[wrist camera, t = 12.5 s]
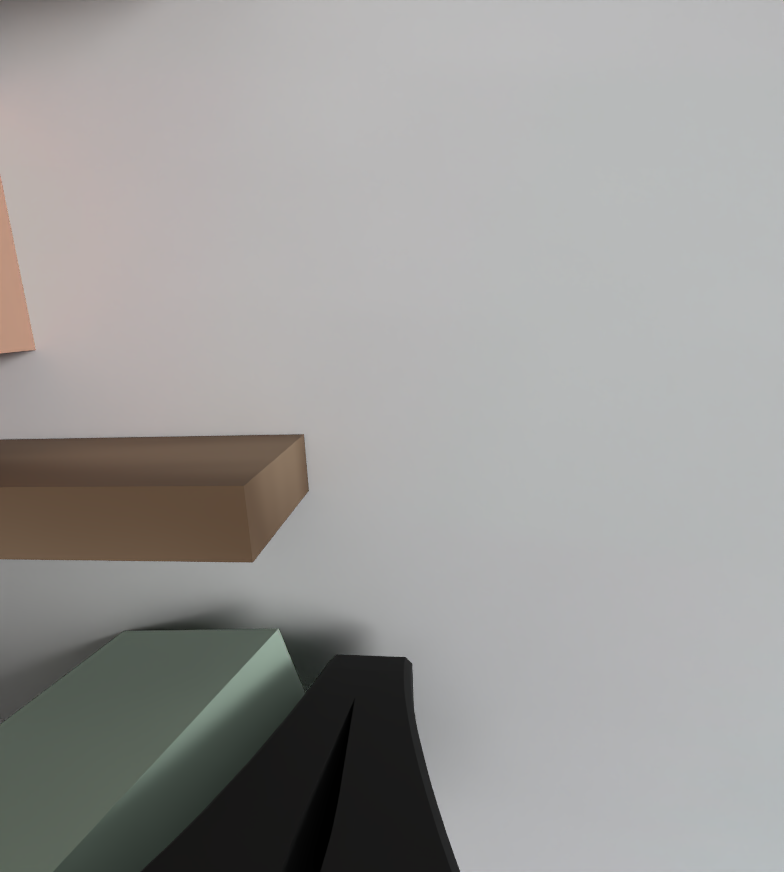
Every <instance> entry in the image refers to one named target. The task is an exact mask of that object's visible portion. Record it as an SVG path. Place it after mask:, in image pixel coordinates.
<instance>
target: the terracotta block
mask: <svg viewBox="0 0 784 872" xmlns="http://www.w3.org/2000/svg"><path fill="white" fill-rule="evenodd" d="M29 350H36V349H35V344H34V339H33V334H32V329H31V325H30V320H29V315H28V310H27V305H26V300H25V295H24V290H23V285H22V280H21V275H20V270H19V265H18V260H17V255H16V250H15V245H14V241H13V236H12V231H11V226H10V221H9V216H8V211H7V206H6V201H5V196H4V191H3V186H2V181H1V176H0V353H9V352H19V351H29Z"/></svg>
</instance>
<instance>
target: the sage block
mask: <svg viewBox="0 0 784 872" xmlns="http://www.w3.org/2000/svg"><path fill="white" fill-rule="evenodd" d="M304 694H305V691H304V689H303V687H302V684H301V682H300V679H299V677H298V674H297V672H296V670H295V667H294V665H293V662H292V660H291V658H290V655H289V653H288V650H287V648H286V645H285V643H284V641H283V638H282V636H281V633H280V631H279V629H222V630H155V631H123V632H122V633H121V634H119V635H118V636H117V637H116V638H114V639H113V640H112V641H110V642H109V643H108V644H106V645H105V646H104V647H102V648H101V649H100V650H98V651H97V652H96V653H94V654H93V655H92V656H90V657H89V658H88V659H86V660H85V661H84V662H82V663H81V664H80V665H78V666H77V667H76V668H74V669H73V670H72V671H70V672H69V673H68V674H66V675H65V676H64V677H62V678H61V679H60V680H58V681H57V682H56V683H55V684H53V685H52V686H51V687H49V688H48V689H47V690H45V691H44V692H43V693H41V694H40V695H39V696H37V697H36V698H35V699H33V700H32V701H31V702H29V703H28V704H27V705H25V706H24V707H23V708H21V709H20V710H19V711H17V712H16V713H15V714H13V715H12V716H11V717H9V718H8V719H7V720H5V721H4V722H3V723H1V724H0V872H141V871H142V870H143V869H144V868H145V867H146V866H147V865H148V864H149V863H150V862H151V861H152V860H153V859H154V858H155V857H156V856H158V855H159V854H160V853H161V852H162V851H163V850H164V849H165V848H166V847H167V846H168V845H169V844H170V843H171V842H172V841H173V840H174V839H175V838H176V837H177V836H178V835H179V834H180V833H181V832H182V831H183V830H184V829H185V828H186V827H187V826H188V825H189V824H190V823H191V822H192V821H193V820H194V819H195V818H196V817H197V816H198V815H199V814H200V813H201V812H202V811H203V810H204V809H205V808H206V807H207V806H208V805H209V804H210V803H211V802H212V801H213V800H214V798H215V797H216V796H217V795H218V794H219V793H220V792H221V791H222V790H223V789H224V788H225V787H226V786H227V784H228V783H229V782H230V781H231V780H232V779H233V778H234V777H235V776H236V775H237V774H238V773H239V771H240V770H241V769H242V768H243V767H244V766H245V765H246V764H247V763H248V762H249V761H250V759H251V758H252V757H253V756H254V755H255V754H256V753H257V751H258V750H259V749H260V748H261V747H262V746H263V744H264V743H265V742H266V741H267V740H268V738H269V737H270V736H271V735H272V734H273V732H274V731H275V730H276V729H277V728H278V727H279V725H280V724H281V723H282V722H283V721H284V719H285V718H286V717H287V716H288V715H289V713H290V712H291V711H292V710H293V708H294V707H295V706H296V705H297V703H298V702H299V701H300V699H301V698H302V697H303V696H304Z"/></svg>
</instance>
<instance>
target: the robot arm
mask: <svg viewBox="0 0 784 872" xmlns="http://www.w3.org/2000/svg"><path fill="white" fill-rule="evenodd" d="M141 872H460V870H459V867H458V865H457V862H456V859H455V856H454V854H453V851H452V848H451V845H450V842H449V839H448V836H447V833H446V830H445V827H444V824H443V821H442V818H441V815H440V811H439V808H438V805H437V802H436V799H435V796H434V792H433V789H432V785H431V782H430V778H429V775H428V771H427V767H426V763H425V759H424V755H423V751H422V747H421V743H420V739H419V734H418V730H417V725H416V720H415V713H414V701H413V673H412V663H411V662H410V661H409V660H408V659H407V658H406V657H386V656H360V655H336V656H335V657H333V658H332V659H331V660H330V662H329V663H328V664H327V666H326V667H325V668H324V670H323V671H322V672H321V674H320V675H319V676H318V677H317V679H316V680H315V681H314V683H313V684H312V685H311V687H310V688H309V689H308V691H307V692H306V693H305V694H304V696H303V697H302V698H301V699H300V701H299V702H298V703H297V705H296V706H295V707H294V708H293V710H292V711H291V712H290V713H289V715H288V716H287V717H286V718H285V719H284V721H283V722H282V723H281V724H280V725H279V727H278V728H277V729H276V730H275V731H274V732H273V734H272V735H271V736H270V737H269V738H268V740H267V741H266V742H265V743H264V744H263V746H262V747H261V748H260V749H259V750H258V751H257V753H256V754H255V755H254V756H253V757H252V758H251V759H250V761H249V762H248V763H247V764H246V765H245V766H244V767H243V768H242V769H241V770H240V771H239V773H238V774H237V775H236V776H235V777H234V778H233V779H232V780H231V781H230V782H229V783H228V784H227V786H226V787H225V788H224V789H223V790H222V791H221V792H220V793H219V794H218V795H217V796H216V797H215V798H214V800H213V801H212V802H211V803H210V804H209V805H208V806H207V807H206V808H205V809H204V810H203V811H202V812H201V813H200V814H199V815H198V816H197V817H196V818H195V819H194V820H193V821H192V822H191V823H190V824H189V825H188V826H187V827H186V828H185V829H184V830H183V831H182V832H181V833H180V834H179V835H178V836H177V837H176V838H175V839H174V840H173V841H172V842H171V843H170V844H169V845H168V846H167V847H166V848H165V849H164V850H163V851H162V852H161V853H160V854H159V855H158V856H156V857H155V858H154V859H153V860H152V861H151V862H150V863H149V864H148V865H147V866H146V867H145V868H144V869H143V870H142V871H141Z"/></svg>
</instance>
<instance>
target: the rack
mask: <svg viewBox="0 0 784 872" xmlns="http://www.w3.org/2000/svg"><path fill="white" fill-rule="evenodd" d="M308 491H309V488H308V477H307V465H306V454H305V442H304V434H303V435H246V436H188V437H131V438H74V439H17V440H0V559H29V560H108V561H187V562H253V561H254V560H255V559H256V558H257V556H258V555H259V554H260V552H261V551H262V550H263V549H264V547H265V546H266V545H267V544H268V542H269V541H270V540H271V538H272V537H273V536H274V535H275V533H276V532H277V531H278V529H279V528H280V527H281V526H282V524H283V523H284V522H285V520H286V519H287V518H288V517H289V515H290V514H291V513H292V511H293V510H294V509H295V508H296V506H297V505H298V504H299V502H300V501H301V500H302V499H303V497H304V496H305V495H306V493H307V492H308Z"/></svg>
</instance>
